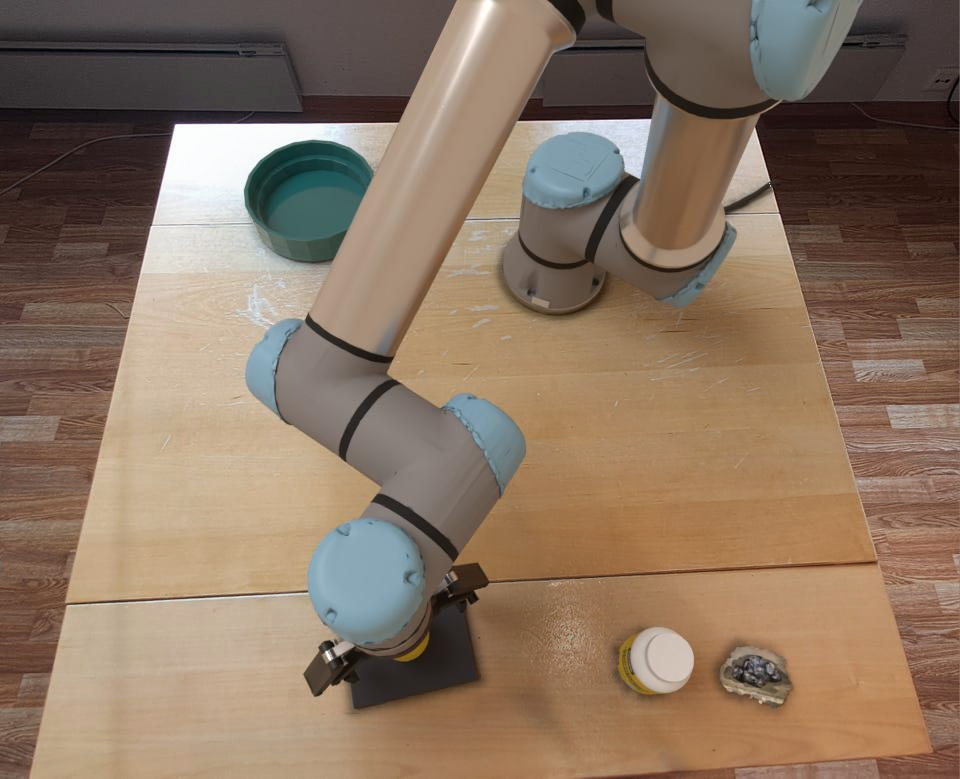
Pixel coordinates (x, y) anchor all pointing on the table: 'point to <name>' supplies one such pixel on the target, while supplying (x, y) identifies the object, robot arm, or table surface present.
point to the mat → (420, 665)
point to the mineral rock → (756, 675)
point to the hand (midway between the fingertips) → (405, 635)
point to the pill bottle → (655, 661)
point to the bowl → (306, 197)
